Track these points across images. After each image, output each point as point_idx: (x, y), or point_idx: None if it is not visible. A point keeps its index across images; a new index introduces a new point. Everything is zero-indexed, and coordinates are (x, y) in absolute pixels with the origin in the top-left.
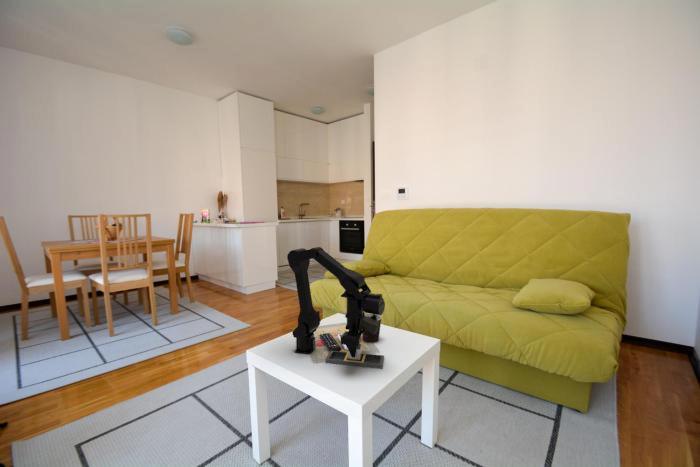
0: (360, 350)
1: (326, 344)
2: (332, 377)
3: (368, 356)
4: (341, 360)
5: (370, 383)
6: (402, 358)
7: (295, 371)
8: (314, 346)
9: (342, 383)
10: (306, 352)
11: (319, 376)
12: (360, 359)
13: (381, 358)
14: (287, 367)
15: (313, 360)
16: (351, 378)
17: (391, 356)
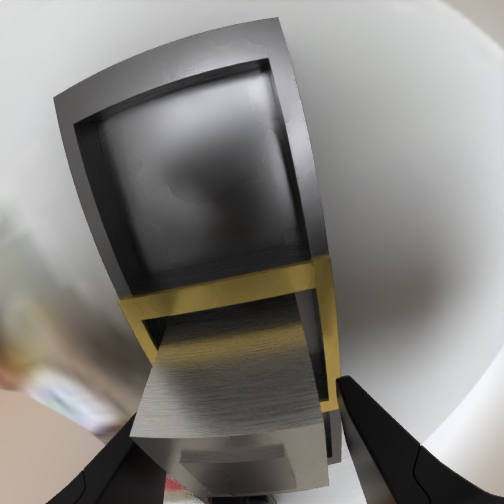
0: (268, 399)
1: None
2: (451, 358)
3: (130, 262)
4: (337, 415)
5: (483, 111)
6: (17, 13)
7: None
8: (224, 501)
9: (499, 287)
10: (268, 496)
11: (440, 400)
12: (266, 313)
13: (125, 86)
14: None
15: None
16: (461, 263)
17: (10, 92)
